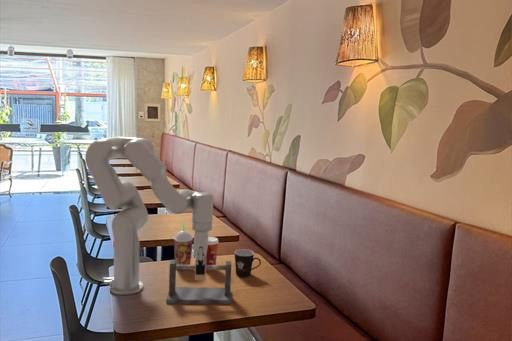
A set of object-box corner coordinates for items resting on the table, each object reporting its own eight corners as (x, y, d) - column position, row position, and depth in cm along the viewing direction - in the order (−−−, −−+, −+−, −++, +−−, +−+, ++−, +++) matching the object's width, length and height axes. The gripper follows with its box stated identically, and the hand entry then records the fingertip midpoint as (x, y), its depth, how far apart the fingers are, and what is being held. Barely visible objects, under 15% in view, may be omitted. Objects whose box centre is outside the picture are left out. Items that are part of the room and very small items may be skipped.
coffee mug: (229, 273, 190) (230, 251, 189) (244, 269, 196) (245, 248, 194) (246, 282, 182) (247, 259, 180) (261, 277, 187) (262, 255, 186)
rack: (166, 303, 159) (167, 267, 157) (169, 290, 170) (170, 256, 167) (231, 303, 161) (233, 268, 159) (230, 291, 172) (232, 257, 170)
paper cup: (214, 273, 190) (215, 242, 187) (198, 270, 191) (199, 240, 189) (219, 266, 197) (221, 237, 195) (203, 264, 199) (204, 235, 197)
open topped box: (194, 279, 161) (195, 260, 160) (195, 274, 167) (196, 255, 165) (205, 280, 162) (206, 260, 160) (205, 274, 167) (206, 255, 166)
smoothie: (173, 264, 197) (174, 221, 194) (191, 263, 199) (192, 222, 196) (173, 271, 189) (174, 227, 186) (192, 270, 191) (193, 227, 188)
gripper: (193, 218, 169) (191, 262, 172) (190, 231, 152) (189, 280, 155) (212, 219, 170) (210, 263, 172) (211, 232, 153) (209, 280, 156)
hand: (200, 270), depth 164 cm, fingers closed on open topped box, 5 cm apart
